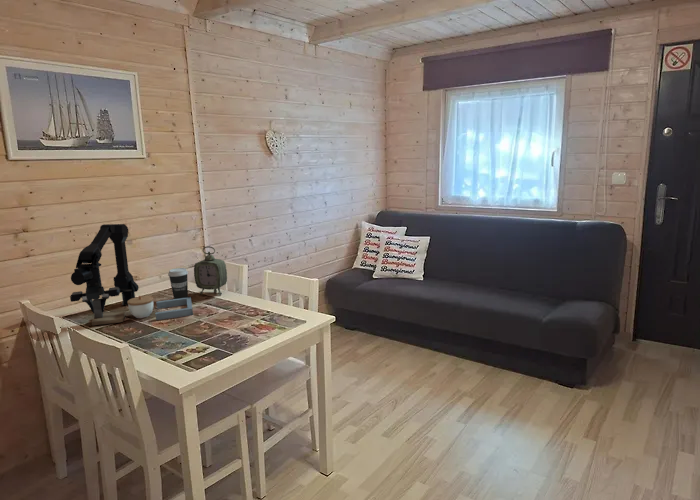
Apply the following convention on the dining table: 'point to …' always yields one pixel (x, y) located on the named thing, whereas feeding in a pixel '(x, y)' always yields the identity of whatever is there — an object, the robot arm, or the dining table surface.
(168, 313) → the slate frame
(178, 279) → the coffee cup
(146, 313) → the lidded jar
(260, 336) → the dining table surface
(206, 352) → the dining table surface
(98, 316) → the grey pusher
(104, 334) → the dining table surface
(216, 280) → the tabletop clock
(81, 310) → the dining table surface
